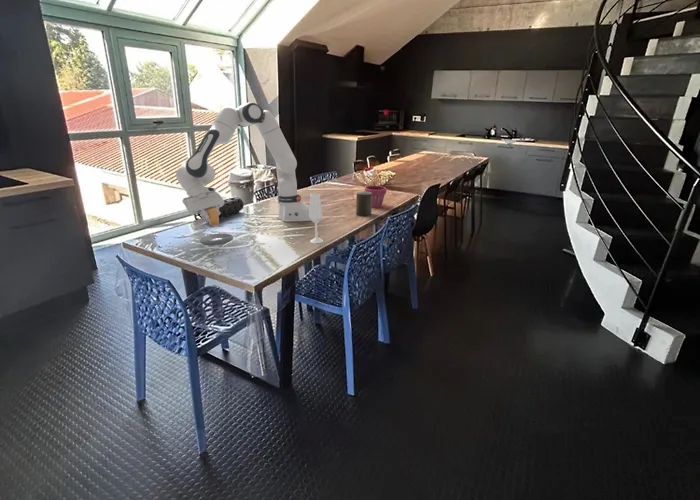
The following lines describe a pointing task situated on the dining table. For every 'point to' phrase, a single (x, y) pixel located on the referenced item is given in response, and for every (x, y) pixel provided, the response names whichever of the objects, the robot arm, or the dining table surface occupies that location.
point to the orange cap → (213, 216)
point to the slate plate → (216, 239)
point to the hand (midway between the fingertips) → (214, 216)
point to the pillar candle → (363, 203)
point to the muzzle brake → (228, 208)
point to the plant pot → (376, 195)
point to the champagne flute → (315, 214)
